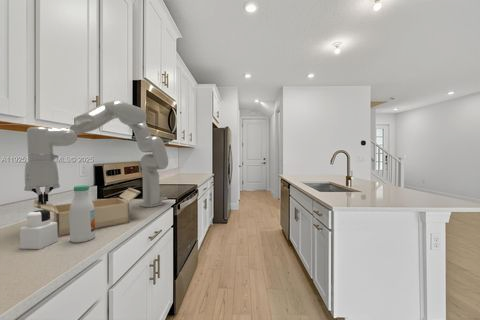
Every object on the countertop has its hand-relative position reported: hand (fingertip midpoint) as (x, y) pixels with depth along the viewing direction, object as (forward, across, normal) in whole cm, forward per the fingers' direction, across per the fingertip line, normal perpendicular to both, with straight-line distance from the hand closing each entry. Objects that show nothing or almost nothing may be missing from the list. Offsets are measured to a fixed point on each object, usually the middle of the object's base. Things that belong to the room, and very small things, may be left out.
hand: (43, 203), depth 90 cm
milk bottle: (+12, -10, +19) cm, 25 cm away
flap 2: (+3, -30, 0) cm, 30 cm away
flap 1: (+2, -3, 0) cm, 4 cm away
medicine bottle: (+12, +2, +15) cm, 19 cm away
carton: (+12, -16, 0) cm, 20 cm away
